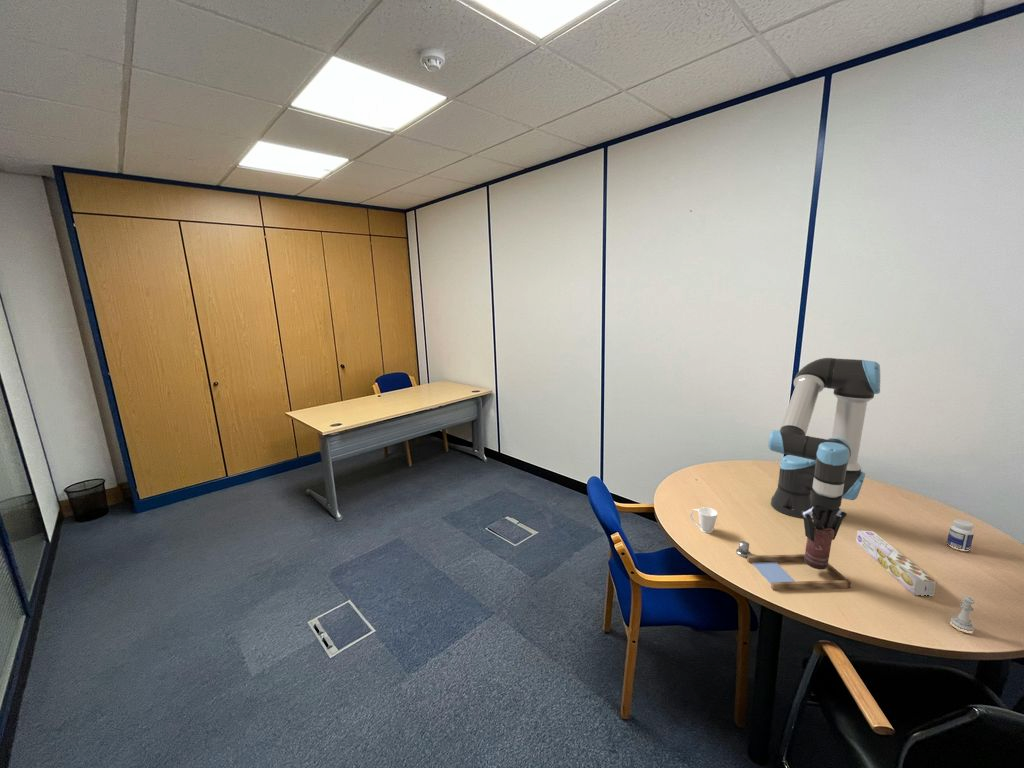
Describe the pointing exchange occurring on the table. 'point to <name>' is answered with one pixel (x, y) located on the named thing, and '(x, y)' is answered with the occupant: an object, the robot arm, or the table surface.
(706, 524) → the cup
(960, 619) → the chess piece
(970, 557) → the table surface
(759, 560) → the frame
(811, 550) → the can
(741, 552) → the grey metal knob
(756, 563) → the front pad
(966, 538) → the pill bottle
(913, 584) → the box
